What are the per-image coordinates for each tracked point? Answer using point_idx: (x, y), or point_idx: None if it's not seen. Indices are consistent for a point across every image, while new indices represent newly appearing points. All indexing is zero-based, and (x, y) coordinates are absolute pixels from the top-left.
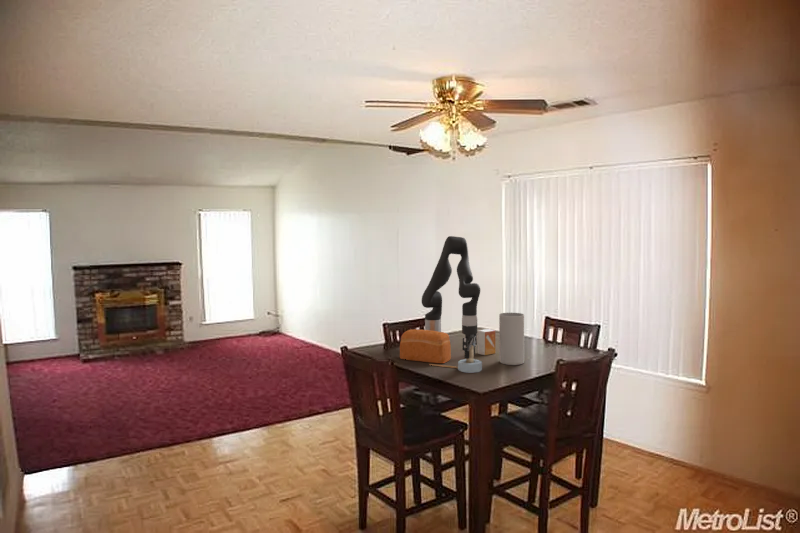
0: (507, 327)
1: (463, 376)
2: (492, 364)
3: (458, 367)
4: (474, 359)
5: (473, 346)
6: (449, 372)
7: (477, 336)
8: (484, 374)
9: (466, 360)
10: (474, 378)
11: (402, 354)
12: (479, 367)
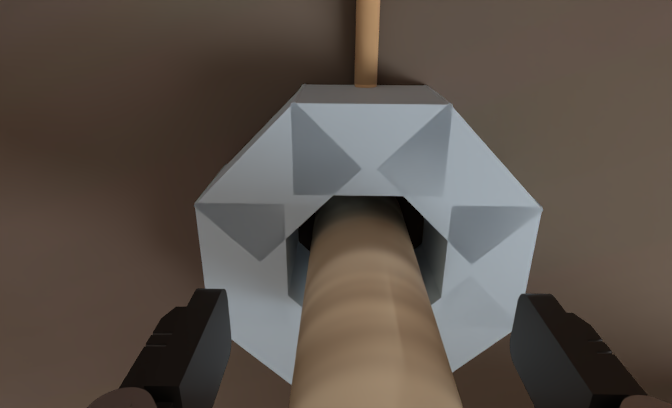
0: None
1: (65, 240)
2: (657, 359)
3: (291, 99)
4: (517, 286)
5: None
6: (123, 22)
7: None
8: (246, 386)
9: (325, 244)
10: (68, 349)
11: None
12: None
